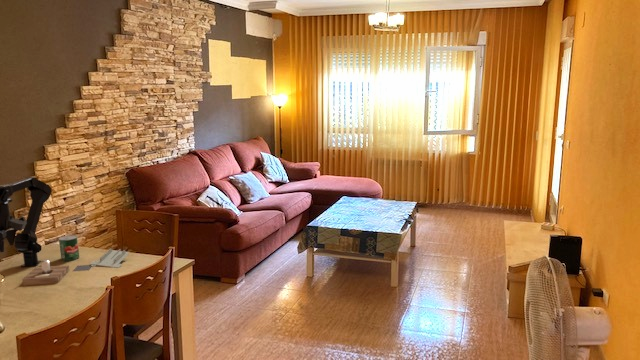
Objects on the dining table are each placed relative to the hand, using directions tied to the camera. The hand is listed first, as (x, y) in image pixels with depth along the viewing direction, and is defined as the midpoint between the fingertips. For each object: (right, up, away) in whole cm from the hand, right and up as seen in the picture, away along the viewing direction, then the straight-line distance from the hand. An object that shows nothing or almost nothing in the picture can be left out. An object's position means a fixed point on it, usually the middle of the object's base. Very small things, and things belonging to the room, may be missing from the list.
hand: (7, 248), depth 223 cm
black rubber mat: (+30, -10, +8) cm, 32 cm away
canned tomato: (+18, -8, +21) cm, 28 cm away
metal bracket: (+40, -9, +15) cm, 44 cm away
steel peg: (+19, -13, -3) cm, 23 cm away
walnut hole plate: (+19, -13, -3) cm, 23 cm away
